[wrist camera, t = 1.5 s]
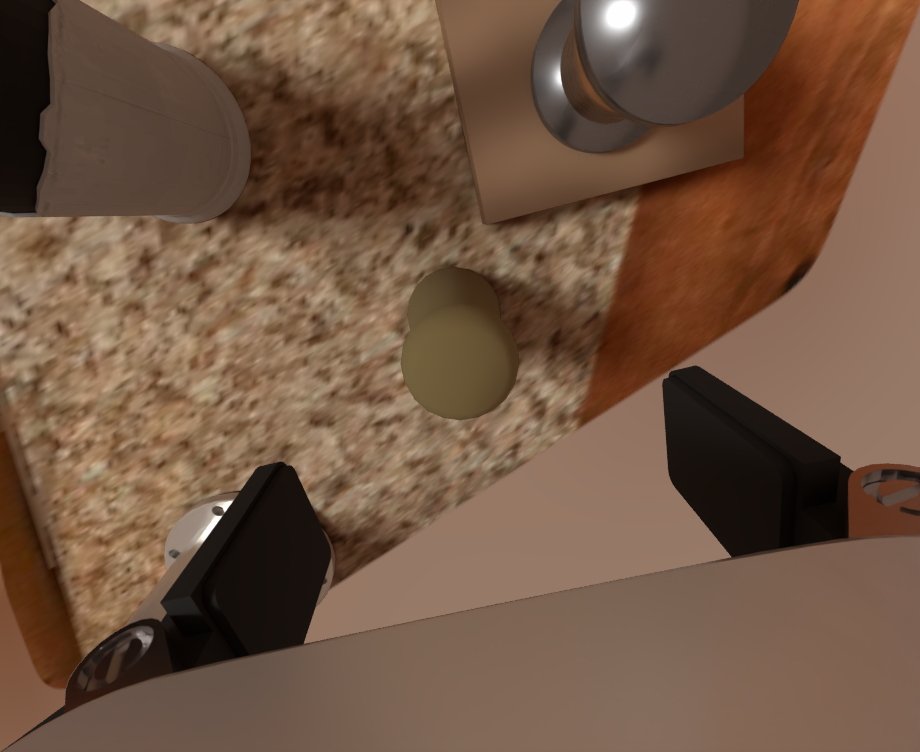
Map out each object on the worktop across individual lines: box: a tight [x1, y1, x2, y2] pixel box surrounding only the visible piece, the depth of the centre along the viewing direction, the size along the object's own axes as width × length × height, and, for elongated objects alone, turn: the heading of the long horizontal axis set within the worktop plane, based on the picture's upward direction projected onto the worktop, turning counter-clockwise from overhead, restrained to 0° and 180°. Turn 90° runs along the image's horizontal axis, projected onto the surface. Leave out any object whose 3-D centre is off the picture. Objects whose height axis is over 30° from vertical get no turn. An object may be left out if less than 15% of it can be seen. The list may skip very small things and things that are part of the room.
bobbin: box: [531, 0, 799, 153], centre depth 17 cm, size 7×7×8 cm
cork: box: [401, 267, 519, 420], centre depth 22 cm, size 6×6×11 cm
